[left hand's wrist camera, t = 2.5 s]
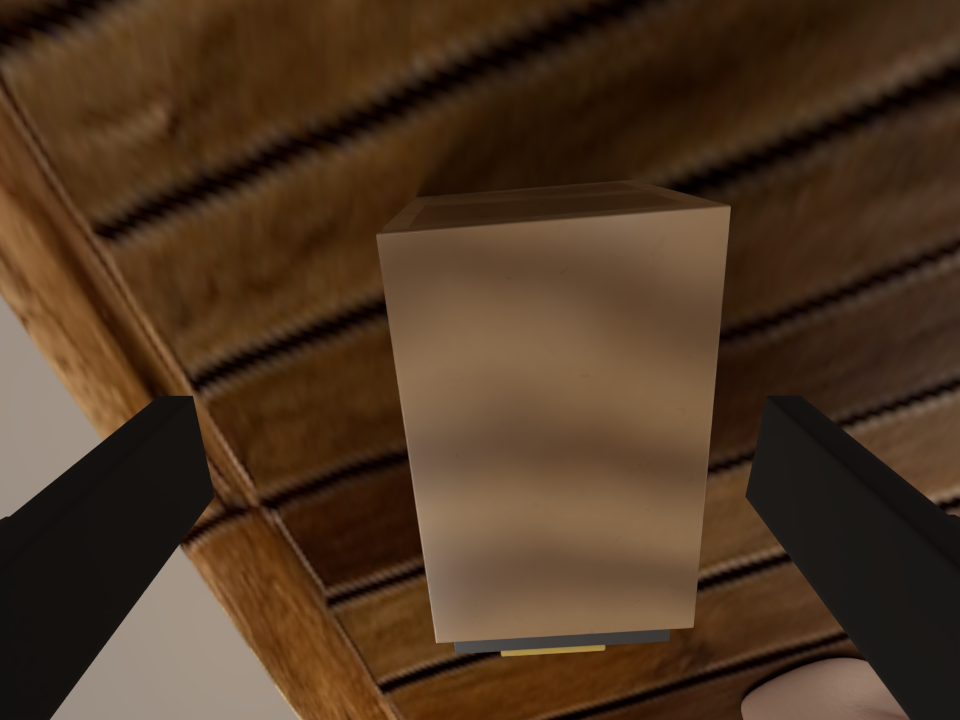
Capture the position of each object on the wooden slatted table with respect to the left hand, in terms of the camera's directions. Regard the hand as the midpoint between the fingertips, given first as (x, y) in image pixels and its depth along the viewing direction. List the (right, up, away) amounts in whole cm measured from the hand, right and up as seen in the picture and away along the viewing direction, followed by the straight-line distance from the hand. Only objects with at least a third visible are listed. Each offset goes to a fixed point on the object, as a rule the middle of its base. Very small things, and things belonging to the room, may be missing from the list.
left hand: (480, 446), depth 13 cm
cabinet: (+3, +3, +17) cm, 17 cm away
